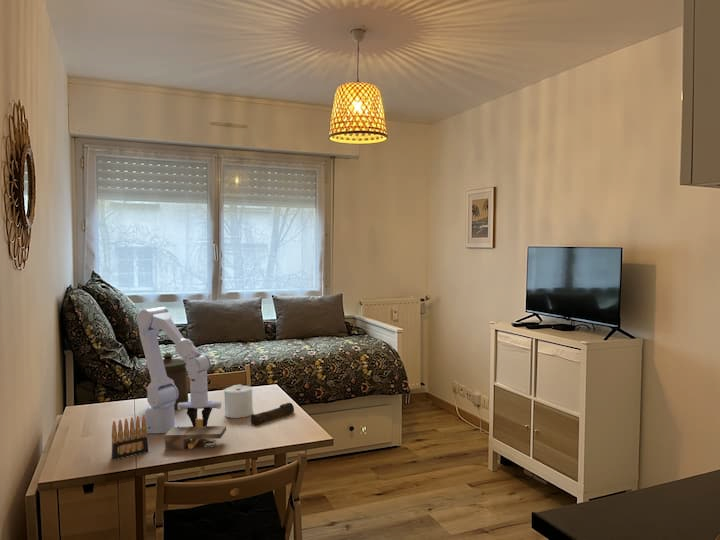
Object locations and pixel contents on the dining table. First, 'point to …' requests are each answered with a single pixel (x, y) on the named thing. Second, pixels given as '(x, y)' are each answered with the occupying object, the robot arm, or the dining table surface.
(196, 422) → the light wooden mallet
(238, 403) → the toilet tissue
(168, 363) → the wooden container
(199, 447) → the dining table surface
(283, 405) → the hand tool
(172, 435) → the walnut l-shaped block
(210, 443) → the steel puck
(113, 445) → the ammunition clip
